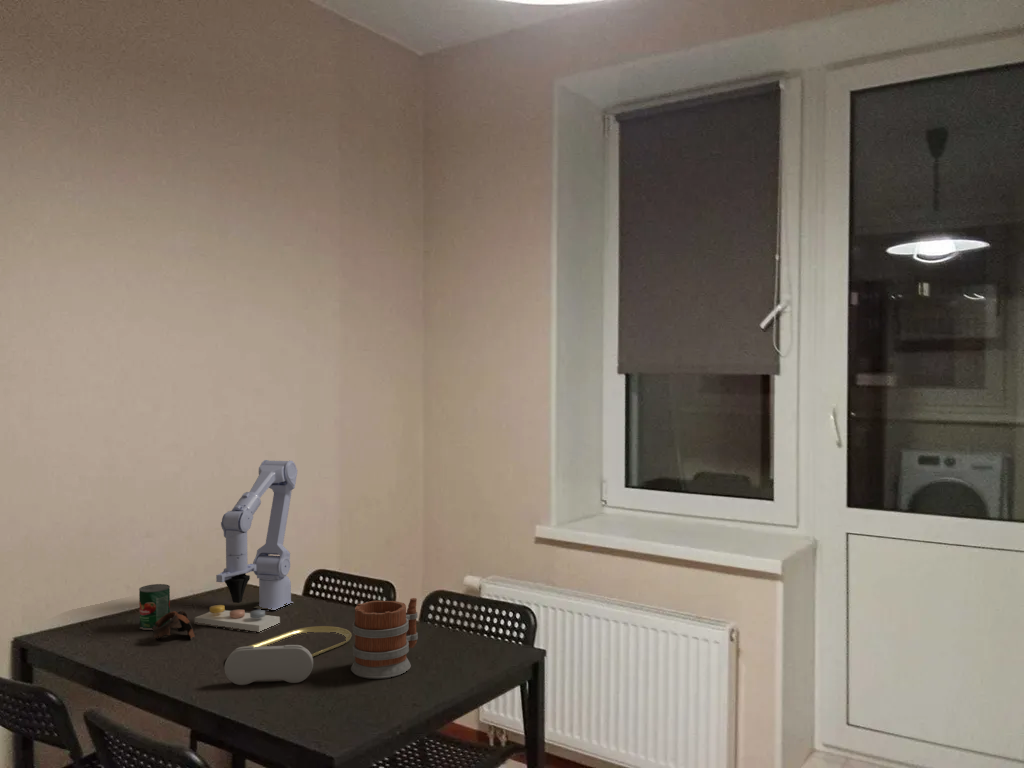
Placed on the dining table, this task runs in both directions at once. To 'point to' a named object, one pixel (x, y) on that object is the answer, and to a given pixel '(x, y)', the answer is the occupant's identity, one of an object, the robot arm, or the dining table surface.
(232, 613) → the button terracotta
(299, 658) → the game controller
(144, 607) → the canned tomato
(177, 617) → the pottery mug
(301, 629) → the u-shaped metal loop
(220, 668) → the dining table surface
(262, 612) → the button slate
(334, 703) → the dining table surface
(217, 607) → the button amber
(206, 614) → the button panel
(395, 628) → the mug
